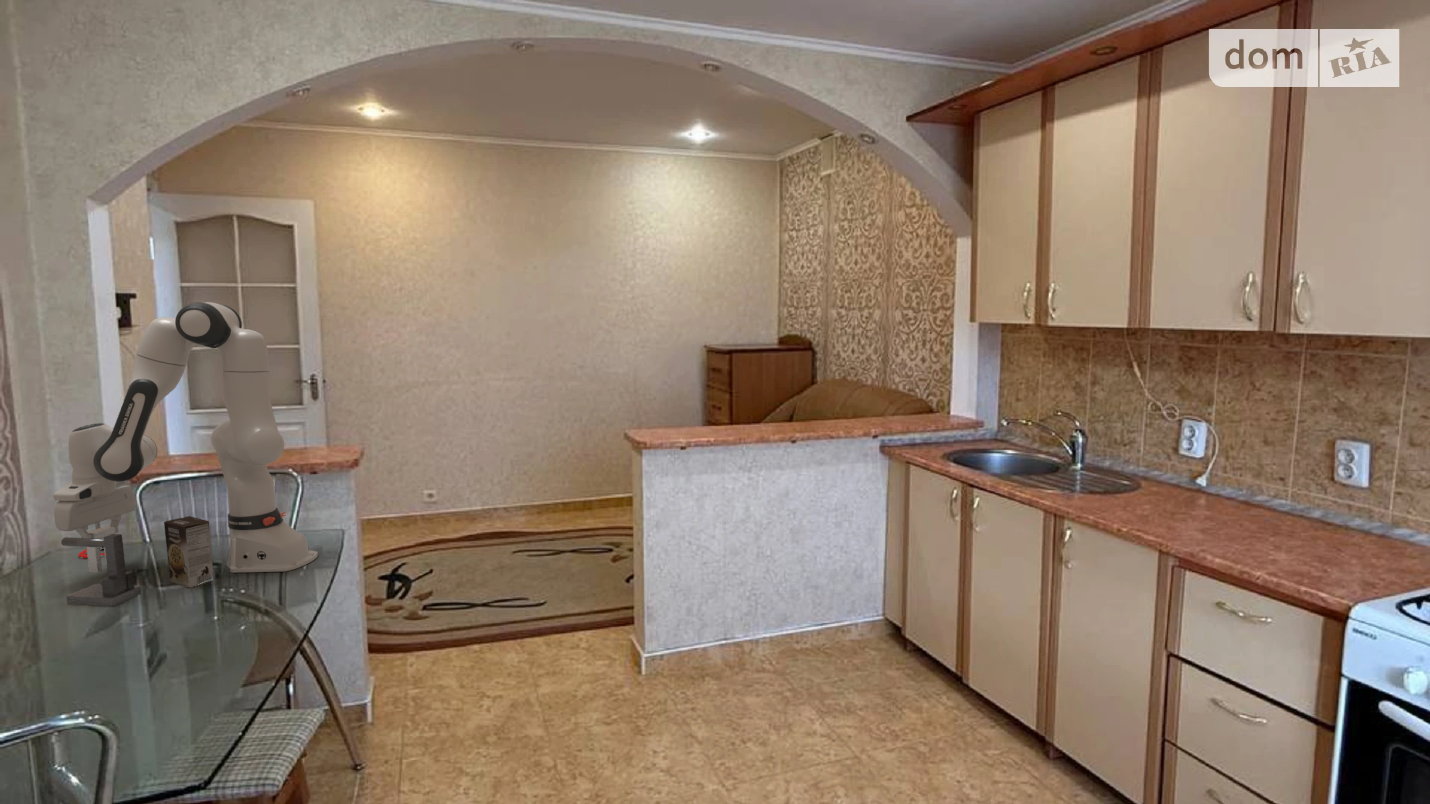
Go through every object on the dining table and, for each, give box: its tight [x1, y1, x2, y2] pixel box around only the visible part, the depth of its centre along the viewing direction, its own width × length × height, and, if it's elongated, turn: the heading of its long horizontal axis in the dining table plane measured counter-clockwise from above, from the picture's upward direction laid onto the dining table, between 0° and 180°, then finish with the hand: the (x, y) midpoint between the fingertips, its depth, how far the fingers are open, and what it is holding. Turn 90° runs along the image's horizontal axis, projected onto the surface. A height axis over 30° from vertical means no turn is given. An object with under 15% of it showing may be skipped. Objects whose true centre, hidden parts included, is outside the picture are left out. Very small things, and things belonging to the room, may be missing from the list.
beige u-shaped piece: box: [86, 525, 116, 573], centre depth 203 cm, size 2×6×10 cm, turn 173°
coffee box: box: [163, 515, 214, 588], centre depth 198 cm, size 9×6×16 cm
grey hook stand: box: [60, 533, 142, 607], centre depth 187 cm, size 15×8×16 cm, turn 83°
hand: (100, 537), depth 203 cm, fingers closed on beige u-shaped piece, 6 cm apart
